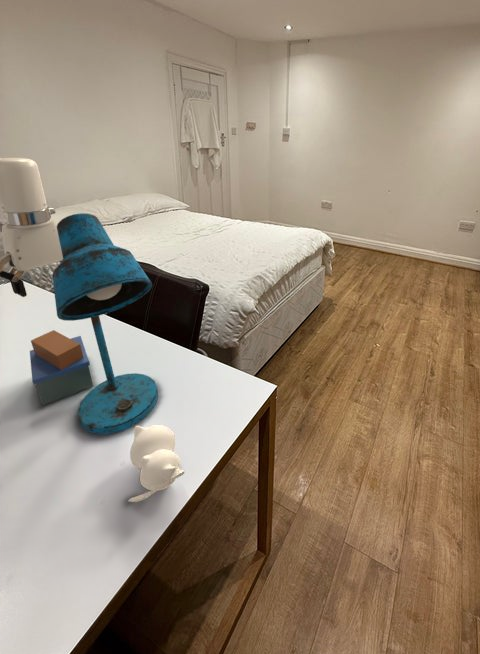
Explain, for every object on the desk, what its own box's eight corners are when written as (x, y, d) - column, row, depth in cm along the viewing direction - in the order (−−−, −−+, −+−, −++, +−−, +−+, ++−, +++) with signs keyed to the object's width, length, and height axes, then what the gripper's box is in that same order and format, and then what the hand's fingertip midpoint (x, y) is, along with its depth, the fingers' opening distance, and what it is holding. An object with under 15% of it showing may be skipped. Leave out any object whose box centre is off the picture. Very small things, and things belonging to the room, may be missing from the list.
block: (34, 354, 78) (30, 340, 76) (57, 343, 82) (53, 329, 80) (61, 370, 73) (57, 356, 72) (83, 357, 77) (80, 344, 76)
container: (37, 375, 82) (29, 350, 79) (86, 358, 88) (80, 335, 85) (41, 407, 73) (32, 380, 70) (95, 386, 79) (88, 361, 76)
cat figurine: (168, 458, 53) (150, 408, 62) (113, 513, 51) (102, 453, 59) (198, 471, 59) (177, 423, 68) (150, 521, 56) (135, 465, 65)
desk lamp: (99, 466, 61) (40, 244, 44) (70, 399, 75) (17, 212, 58) (179, 418, 72) (156, 225, 55) (141, 367, 86) (113, 201, 69)
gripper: (61, 207, 79) (75, 270, 85) (-33, 222, 64) (-8, 297, 71) (79, 212, 76) (92, 278, 82) (-16, 229, 61) (9, 307, 68)
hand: (46, 286), depth 76 cm, fingers open, 9 cm apart
